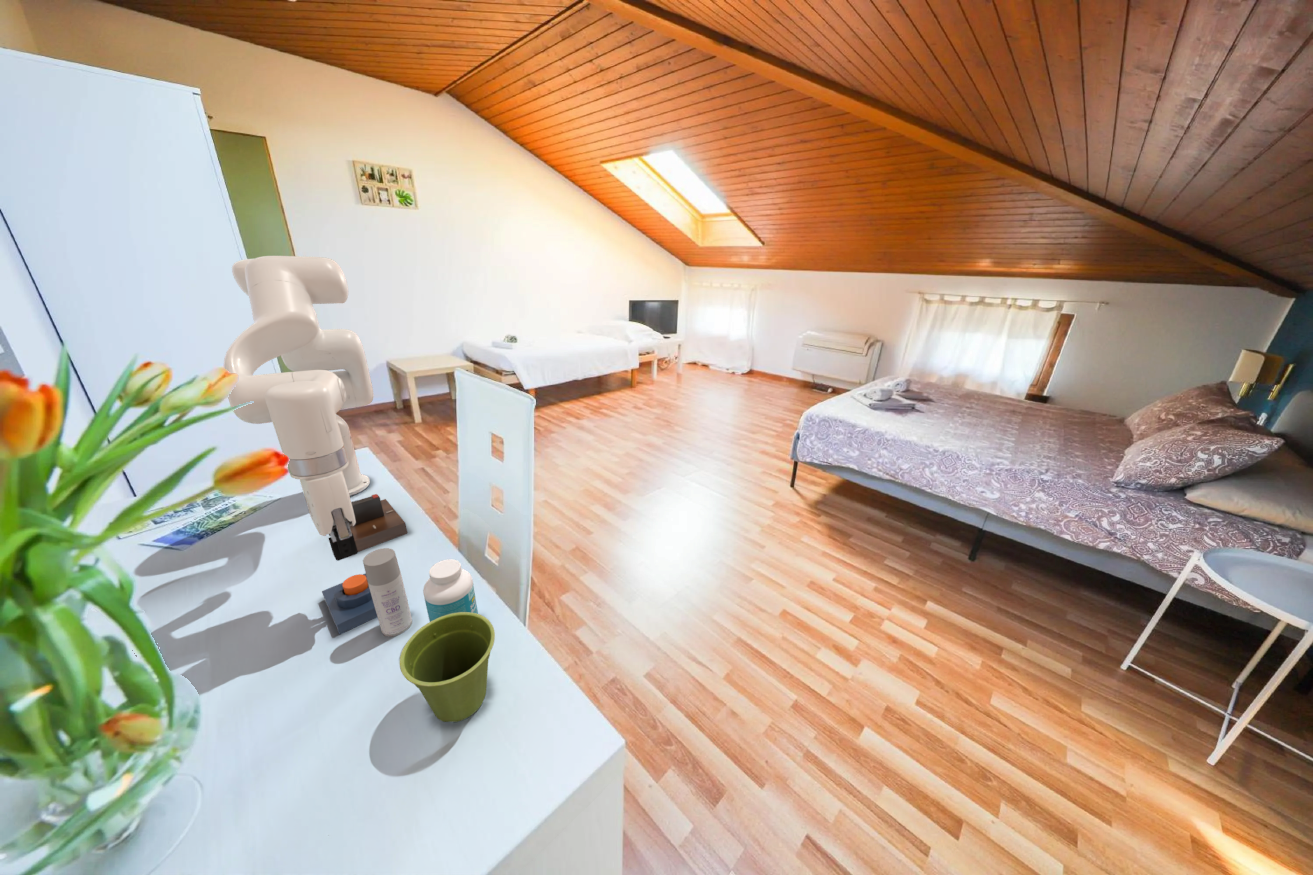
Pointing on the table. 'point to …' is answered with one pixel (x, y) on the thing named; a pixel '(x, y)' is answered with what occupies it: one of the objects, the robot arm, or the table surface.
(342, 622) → the button block
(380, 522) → the brown wooden switch base
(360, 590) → the button
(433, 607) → the pill bottle
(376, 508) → the black boxy piece
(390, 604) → the container
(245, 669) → the table surface
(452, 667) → the plant pot
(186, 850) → the table surface
